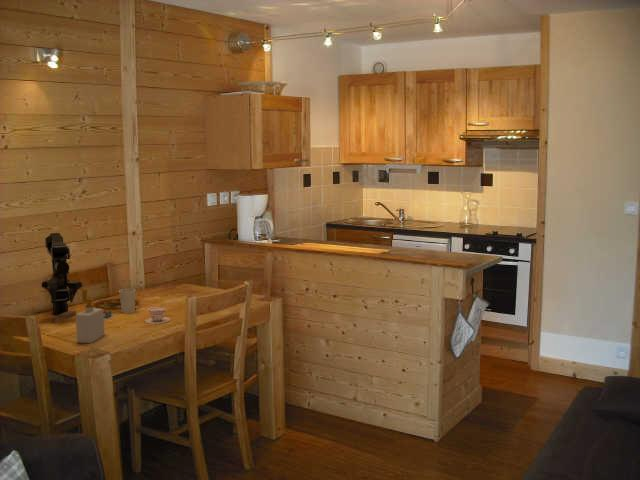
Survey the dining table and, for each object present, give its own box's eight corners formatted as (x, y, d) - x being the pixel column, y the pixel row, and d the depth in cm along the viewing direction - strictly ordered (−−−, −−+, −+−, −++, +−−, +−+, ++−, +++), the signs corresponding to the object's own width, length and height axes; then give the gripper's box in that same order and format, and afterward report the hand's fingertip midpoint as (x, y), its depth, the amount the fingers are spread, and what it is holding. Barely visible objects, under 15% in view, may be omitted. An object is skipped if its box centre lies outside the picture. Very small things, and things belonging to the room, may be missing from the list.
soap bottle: (90, 343, 302) (87, 290, 298) (76, 342, 303) (73, 290, 300) (105, 335, 314) (102, 284, 310) (91, 334, 315) (88, 284, 312)
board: (75, 325, 331) (75, 323, 331) (95, 315, 349) (95, 313, 349) (98, 326, 329) (97, 324, 328) (117, 316, 346) (117, 314, 346)
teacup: (139, 323, 335) (139, 310, 334) (154, 317, 346) (153, 304, 345) (161, 325, 331) (160, 312, 330) (175, 319, 342) (174, 306, 341)
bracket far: (91, 317, 341) (90, 311, 341) (95, 315, 345) (95, 309, 345) (107, 318, 339) (106, 312, 339) (111, 316, 343) (111, 310, 343)
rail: (51, 325, 333) (50, 318, 332) (70, 317, 347) (69, 310, 347) (57, 325, 332) (57, 318, 331) (76, 317, 346) (75, 310, 346)
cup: (132, 315, 348) (130, 292, 346) (117, 315, 349) (116, 291, 347) (139, 311, 355) (138, 288, 353) (124, 311, 357) (123, 288, 355)
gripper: (33, 272, 330) (35, 304, 333) (68, 274, 326) (70, 307, 328) (47, 268, 341) (49, 299, 343) (81, 269, 337) (83, 301, 339)
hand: (62, 301), depth 338 cm, fingers open, 9 cm apart
